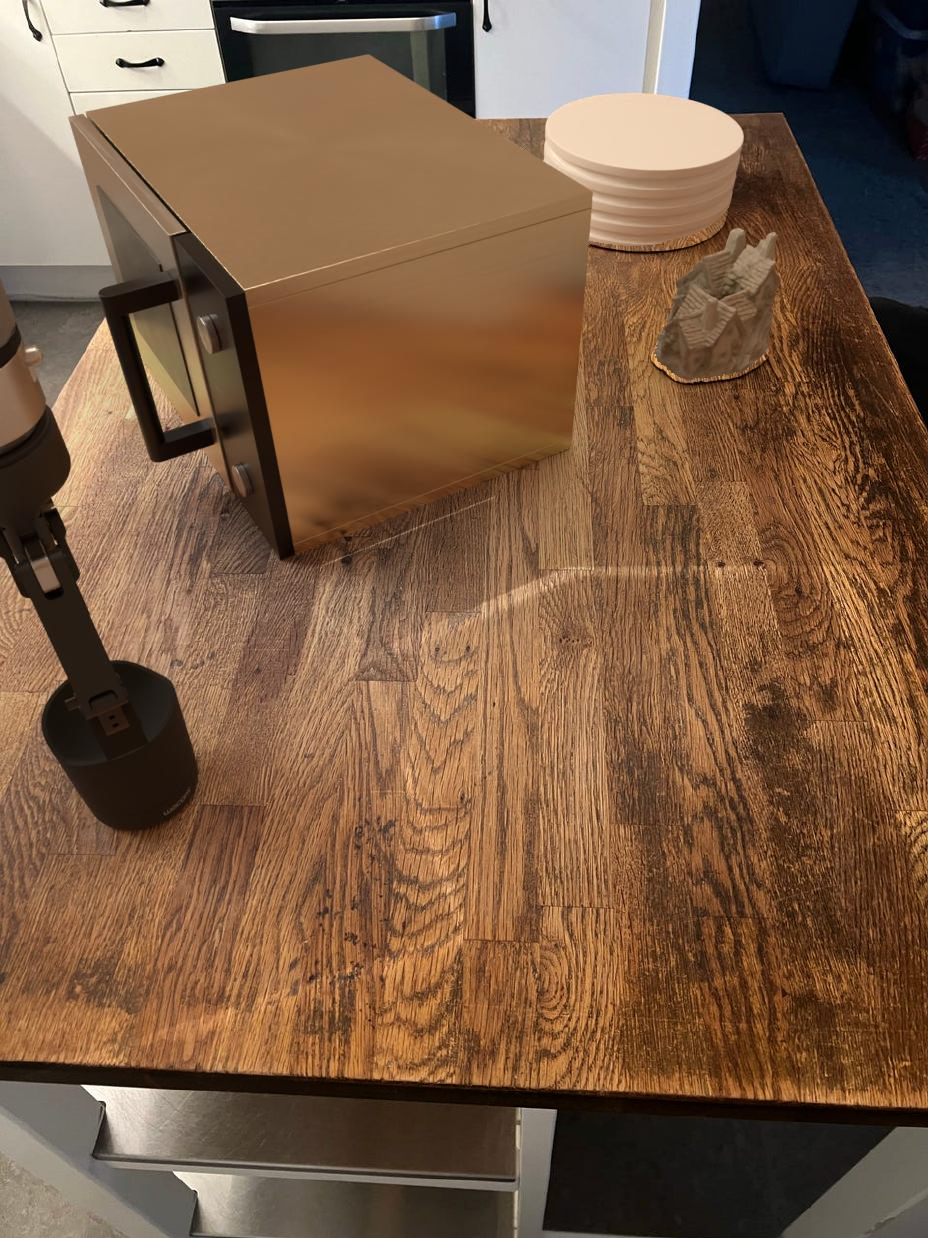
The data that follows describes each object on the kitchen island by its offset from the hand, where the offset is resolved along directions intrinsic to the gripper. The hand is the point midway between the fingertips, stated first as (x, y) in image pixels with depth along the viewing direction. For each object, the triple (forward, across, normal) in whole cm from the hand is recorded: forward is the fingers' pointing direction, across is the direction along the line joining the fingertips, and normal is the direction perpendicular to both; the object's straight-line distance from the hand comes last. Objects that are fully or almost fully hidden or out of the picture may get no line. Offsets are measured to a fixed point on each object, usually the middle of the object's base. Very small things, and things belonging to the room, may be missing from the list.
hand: (97, 680), depth 66 cm
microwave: (+13, +41, -36) cm, 56 cm away
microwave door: (+13, +47, -17) cm, 51 cm away
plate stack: (+13, +62, -96) cm, 115 cm away
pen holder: (+14, 0, 0) cm, 14 cm away
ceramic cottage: (+14, +27, -80) cm, 85 cm away
